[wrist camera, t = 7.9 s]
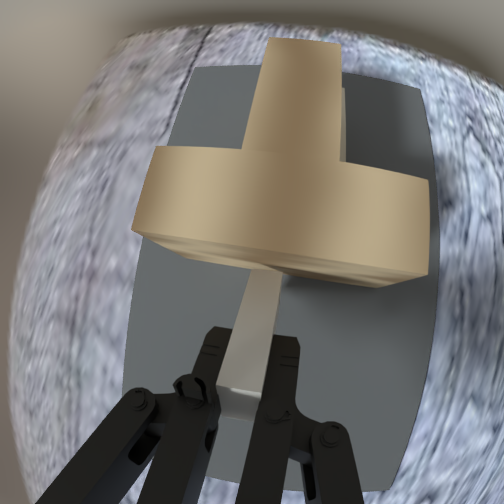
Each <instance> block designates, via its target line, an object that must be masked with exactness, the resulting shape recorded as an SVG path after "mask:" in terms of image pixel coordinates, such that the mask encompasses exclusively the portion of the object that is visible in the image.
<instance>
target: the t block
mask: <svg viewBox="0 0 504 504" xmlns="http://www.w3.org/2000/svg"><path fill="white" fill-rule="evenodd" d="M341 106H342V67H341V44H336V43H330V42H322V41H314V40H304V39H292V38H275V37H269V40H268V44H267V47H266V51H265V55H264V59H263V63H262V66H261V70H260V74H259V78H258V82H257V86H256V90H255V94H254V98H253V102H252V106H251V111H250V115H249V119H248V123H247V127H246V132H245V136H244V140H243V144H242V149H231V148H214V147H191V146H156V148H155V151H154V154H153V157H152V160H151V163H150V166H149V169H148V172H147V175H146V178H145V181H144V185H143V188H142V191H141V195H140V198H139V202H138V205H137V209H136V213H135V216H134V220H133V224H132V228H131V230H132V231H134V232H136V233H138V234H140V235H142V236H144V237H146V238H147V239H149V240H151V241H153V242H155V243H157V244H159V245H161V246H163V247H165V248H167V249H169V250H171V251H173V252H175V253H177V254H179V255H181V256H183V257H185V258H187V259H193V260H199V261H205V262H211V263H217V264H223V265H229V266H235V267H241V268H247V269H252V268H253V269H261V270H270V271H278V272H283V274H285V275H291V276H298V277H304V278H311V279H317V280H324V281H331V282H337V283H344V284H351V285H358V286H365V287H372V288H379V287H383V286H387V285H391V284H395V283H399V282H403V281H407V280H411V279H414V278H418V277H422V276H425V275H428V265H429V242H430V205H429V182H428V180H427V179H423V178H419V177H415V176H410V175H406V174H402V173H398V172H393V171H388V170H384V169H379V168H374V167H369V166H364V165H358V164H353V163H347V162H341V161H339V159H340V139H341Z"/></svg>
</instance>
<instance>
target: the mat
mask: <svg viewBox="0 0 504 504" xmlns="http://www.w3.org/2000/svg"><path fill="white" fill-rule="evenodd" d="M260 70H261V65H234V66H209V67H195V69H194V71H193V74H192V76H191V79H190V81H189V84H188V86H187V89H186V92H185V94H184V97H183V100H182V103H181V105H180V108H179V111H178V114H177V117H176V120H175V123H174V126H173V129H172V132H171V135H170V138H169V141H168V144H167V146H191V147H214V148H231V149H242V144H243V140H244V136H245V132H246V127H247V123H248V119H249V115H250V111H251V106H252V102H253V98H254V94H255V90H256V86H257V82H258V78H259V74H260ZM339 161H341V162H347V163H353V164H358V165H364V166H369V167H374V168H379V169H384V170H388V171H393V172H398V173H402V174H406V175H410V176H415V177H419V178H423V179H427V180H428V182H429V205H430V242H429V265H428V275H425V276H422V277H418V278H414V279H411V280H407V281H403V282H399V283H395V284H391V285H387V286H383V287H379V288H372V287H365V286H358V285H351V284H344V283H337V282H331V281H324V280H317V279H311V278H304V277H298V276H291V275H285V274H283V276H282V286H281V296H280V306H279V314H278V320H277V326H276V332H275V334H276V335H284V336H292V337H297V339H298V342H299V344H300V347H301V349H300V359H299V370H298V379H297V389H296V397H295V400H296V406H297V408H298V410H299V411H300V412H301V413H302V414H303V415H304V416H306V417H308V418H310V419H312V420H315V421H318V422H320V423H323V422H326V421H335V422H338V423H340V424H342V425H343V426H344V427H345V428H346V429H347V431H348V433H349V436H350V440H351V445H352V449H353V453H354V458H355V462H356V467H357V471H358V476H359V480H360V485H361V490H362V492H370V491H383V490H389V489H390V487H391V485H392V482H393V480H394V478H395V475H396V473H397V470H398V468H399V465H400V463H401V460H402V457H403V455H404V452H405V449H406V446H407V443H408V440H409V437H410V434H411V431H412V428H413V424H414V421H415V418H416V414H417V410H418V407H419V403H420V399H421V395H422V391H423V387H424V382H425V377H426V373H427V368H428V362H429V357H430V351H431V345H432V338H433V331H434V323H435V315H436V305H437V293H438V276H439V215H438V198H437V186H436V176H435V168H434V160H433V153H432V146H431V140H430V134H429V129H428V124H427V119H426V114H425V109H424V105H423V101H422V97H421V93H420V89H418V88H414V87H411V86H407V85H403V84H399V83H395V82H391V81H386V80H382V79H377V78H372V77H367V76H362V75H356V74H350V73H343V72H342V106H341V139H340V159H339ZM250 273H251V269H247V268H241V267H235V266H229V265H223V264H217V263H211V262H205V261H199V260H193V259H187V258H185V257H183V256H181V255H179V254H177V253H175V252H173V251H171V250H169V249H167V248H165V247H163V246H161V245H159V244H157V243H155V242H153V241H151V240H149V239H147V238H146V237H144V236H143V240H142V245H141V250H140V255H139V260H138V265H137V271H136V276H135V282H134V288H133V295H132V301H131V308H130V315H129V323H128V331H127V340H126V349H125V360H124V372H123V388H122V397H123V396H124V395H125V393H127V392H128V391H129V390H130V389H133V388H136V387H143V388H146V389H148V390H149V391H151V392H152V393H153V394H165V393H174V392H175V390H174V387H173V383H174V382H175V380H176V379H177V378H179V377H180V376H182V375H185V374H191V372H192V370H193V367H194V364H195V362H196V359H197V357H198V354H199V351H200V349H201V346H202V345H203V341H204V339H205V336H206V334H207V333H208V332H209V331H210V330H211V329H212V328H213V327H214V326H218V327H224V328H230V329H233V328H234V324H235V321H236V318H237V315H238V312H239V308H240V305H241V302H242V299H243V295H244V292H245V289H246V286H247V282H248V279H249V276H250ZM218 423H219V428H218V433H217V436H216V440H215V443H214V447H213V450H212V454H211V457H210V461H209V464H208V468H207V471H206V475H205V476H208V477H212V478H216V479H221V480H225V481H230V482H235V483H240V481H241V477H242V473H243V468H244V464H245V460H246V456H247V451H248V447H249V442H250V438H251V434H252V429H253V424H254V422H250V421H244V420H239V419H233V418H228V417H223V416H222V415H221V414H220V417H219V421H218ZM153 458H154V456H153ZM153 458H152V460H153ZM283 490H291V491H304V489H303V481H302V474H301V467H300V462H297V461H295V460H292V459H290V458H288V464H287V470H286V476H285V482H284V488H283Z"/></svg>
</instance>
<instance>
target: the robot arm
mask: <svg viewBox="0 0 504 504" xmlns="http://www.w3.org/2000/svg"><path fill="white" fill-rule="evenodd" d="M282 276H283V272H278V271H270V270H261V269H253V268H252V269H251V273H250V276H249V279H248V282H247V286H246V289H245V292H244V295H243V299H242V302H241V305H240V308H239V312H238V315H237V318H236V321H235V324H234V328H233V329H230V328H224V327H218V326H214V327H213V328H212V329H211V330H210V331H209V332H208V333H207V334H206V336H205V339H204V341H203V345H202V346H201V349H200V351H199V354H198V357H197V359H196V362H195V364H194V367H193V370H192V372H191V374H185V375H182V376H180V377H179V378H177V379H176V380H175V382H174V383H173V387H174V390H175V392H174V393H165V394H153V393H152V392H151V391H149V390H148V389H146V388H143V387H136V388H133V389H130V390H129V391H128V392H127V393H125V395H124V396H123V397H122V398H121V399H120V401H119V402H118V403H117V404H116V405H115V407H114V408H113V409H112V410H111V411H110V413H109V414H108V415H107V416H106V418H105V419H104V420H103V421H102V422H101V424H100V425H99V426H98V427H97V428H96V430H95V431H94V432H93V433H92V435H91V436H90V437H89V438H88V439H87V441H86V442H85V443H84V444H83V445H82V447H81V448H80V449H79V450H78V452H77V453H76V454H75V455H74V456H73V458H72V459H71V460H70V461H69V463H68V464H67V465H66V466H65V467H64V469H63V470H62V471H61V472H60V474H59V475H58V476H57V477H56V479H55V480H54V481H53V482H52V483H51V485H50V486H49V487H48V488H47V490H46V491H45V492H44V493H43V495H42V496H41V497H40V498H39V500H38V501H37V502H36V503H35V504H119V502H120V501H121V500H122V498H123V497H124V496H125V494H126V493H127V492H128V490H129V489H130V488H131V486H132V485H133V484H134V482H135V481H136V480H137V478H138V477H139V476H140V474H141V473H142V472H143V470H144V469H145V467H146V466H147V465H148V463H149V462H150V461H151V459H152V458H153V456H154V458H153V461H152V463H151V466H150V469H149V471H148V474H147V477H146V480H145V482H144V485H143V488H142V490H141V493H140V496H139V499H138V502H137V504H197V502H198V499H199V496H200V492H201V489H202V485H203V482H204V478H205V475H206V471H207V468H208V464H209V461H210V457H211V454H212V450H213V447H214V443H215V440H216V436H217V433H218V428H219V423H218V421H219V417H220V414H221V415H222V416H223V417H228V418H233V419H239V420H244V421H250V422H254V424H253V429H252V434H251V438H250V442H249V447H248V451H247V456H246V460H245V464H244V468H243V473H242V477H241V481H240V485H239V489H238V493H237V497H236V501H235V504H281V499H282V493H283V488H284V482H285V476H286V470H287V464H288V458H290V459H292V460H295V461H297V462H300V467H301V474H302V481H303V489H304V496H305V503H306V504H364V500H363V495H362V490H361V485H360V480H359V476H358V471H357V467H356V462H355V458H354V453H353V449H352V445H351V440H350V436H349V433H348V431H347V429H346V428H345V427H344V426H343V425H342V424H340V423H338V422H335V421H326V422H323V423H320V422H318V421H315V420H312V419H310V418H308V417H306V416H304V415H303V414H302V413H301V412H300V411H299V410H298V408H297V406H296V400H295V397H296V389H297V379H298V370H299V359H300V349H301V347H300V344H299V342H298V339H297V337H292V336H284V335H276V334H275V332H276V326H277V320H278V314H279V306H280V296H281V286H282Z"/></svg>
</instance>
